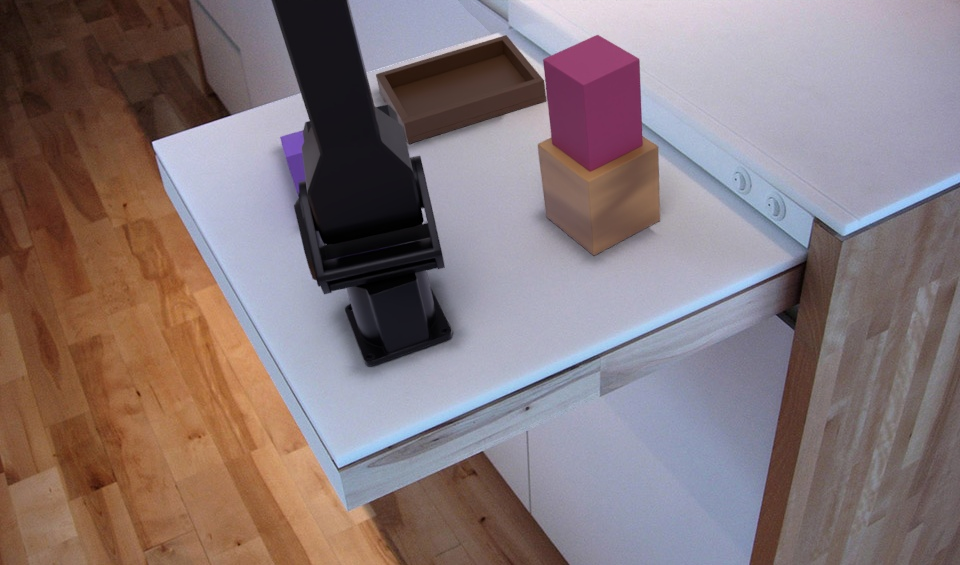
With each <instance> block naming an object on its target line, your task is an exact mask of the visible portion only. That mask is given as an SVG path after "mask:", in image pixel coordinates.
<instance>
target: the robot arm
mask: <svg viewBox="0 0 960 565" xmlns="http://www.w3.org/2000/svg"><path fill="white" fill-rule="evenodd" d="M271 3H272V8H273V10H274V14H275V16H276V19H277V23H278V26H279V29H280V32H281V35H282V38H283V42H284V43H285V48H286V51H287V54H288V57H289V60H290V63H291V67H292V69H293V70H292V71H293V73H294V76H295V79H296V82H297V86H298V88H299V92H300V95H301V98H302V101H303V104H304V107H305V110H306V113H307V117H308V121H305V123H304V126H303V129H302V130H303V139H304V143H303V145H302V156H303V164H304V171H305V179H306V180H304V181H300V182H299V192H298V194H297V197H298V196H299V197H298V198H297V199H296V201H295V203H294V204H293V208H294V213H295V217H296V222H297V226H298V230H299V234H300V239H301V243H302V247H303V251H304V252H303V253H304V255H305V256H304V257H305V260H306V263H307V266H308V269H309V272H310V275H311V279H312V280H315V281H316V284H317V287H318V288H319V287H320V289H321V291H322V293H323V295H327V294H332V292H335V291H339V290H344V289H346V293H347V296H348V299H349V304H347V305H346V306H345V308H344V311H345V314H346V317H347V320H348V322H349V325H350V328H351V331H352V333H353V336H354V338H355V341H356V344H357V346H358V349H359V351H360V354H361V357H362V359H363V362H364V364H365V365H366V366H369V367H372V366H375V365H378V364H382V363H384V362H387V361H391V360H392V359H396V358H398V357H402V356H404V355H406V354H407V355H408V354H410V353H412V352H413V353H414V352H416V351H419V350H421V349H424V348H427V347H429V346H433V345H435V344H438V343H441V342H444V341H447V340H449V339H451V338H452V336H453V330H452V328H451V325H450V324H449V322H448V319H447V317H446V315H445V313H444V311H443V309H442V307H441V305H440V303H439V300H438V299H437V296H436V295H435V293H434V291H433V288H432V287H431V284H430V280H429V276H428V271H431V270H436V269H437V270H442V269H445V268H446V266H445V261H444V255H443V251H442V250H443V249H442V246H441V242H440V237H439V233H438V228H437V222H436V220H435V214H434V211H433V204H432V202H431V201H432V200H431V196H430V192H429V187H428V183H427V178H426V174H425V169H424V165H423V160H422V157H421V155H416V156H410V151H409V146H408V142H407V140H406V137H405V132H404V128H403V126H402V125H401V124H399V121H398V117H397V113H396V112H395V111H394V110H393V109H392V108H391V107H390V106H389V105H386V104H384V105H380V106H375V102H374V100H373V99H374V98H373V94H372V91H371V86H370V82H369V78H368V73H367V69H366V66H365V61H364V58H363V53H362V49H361V46H360V41H359V37H358V34H357V30H356V24H355V21H354V16H353V13H352V8H351V5H350V0H271ZM422 209H423V210H424V213H425V218H426V223H424V222H425V219H424V214H423V210H422Z"/></svg>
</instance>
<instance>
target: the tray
mask: <svg viewBox="0 0 960 565" xmlns="http://www.w3.org/2000/svg"><path fill="white" fill-rule="evenodd" d="M375 77H376V82H377V86H378V90H379V94H380V96H381V98H382V99H383V101H384V103H385V105H389V106H390V107H391V108H392V109H393V110H394V111H395V112H396V113H397V117H398V121H399V124H401V125H402V126H403V128H404V132H405V137H406V141H407V145H408V144H409V145H410V144H413V143H416V142H419V141H422V140H425V139H429V138H431V137H435V136H438V135H441V134H444V133H447V132H451V131H454V130H457V129H460V128H463V127H467V126H470V125H473V124H477V123H479V122H484V121H486V120H490V119H492V118H496V117H499V116H501V115H502V116H503V115H505V114H509V113H511V112H515V111H518V110H522V109H525V108H528V107H531V106H534V105H537V104H541V103H543V102H547V92H546V83H545V79H544V78H543V77H542V76H541V75H540V74H539V73H538V71H537V70H536V69H535V68H534V66H533V65H532V63H531V62H530V61H529V60H528V59H527V57H526V56H525V55H524V54H523V53H522V51H521V50H520V49H519V48H518V47H517V46H516V45H515V43H514V42H513V41H512V40H511V39H510V38H509V36H508V35H505V34H504V35H501V36H498V37H495V38H491V39H489V40H488V39H487V40H485V41H481V42H478V43H474V44H472V45H468V46H465V47H461V48H457V49H455V50H452V51H448V52H445V53H441V54H439V55H435V56H432V57H428V58H425V59H421V60H418V61H416V62H412V63H409V64H405V65H401V66H399V67H394V68H392V69H391V68H390V69H388V70H385V71H381V72H379V73H378V72H377V73H376V74H375Z"/></svg>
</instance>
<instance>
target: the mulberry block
mask: <svg viewBox="0 0 960 565" xmlns="http://www.w3.org/2000/svg"><path fill="white" fill-rule="evenodd" d="M640 61H641V60H640V58H639V57H638V56H635V55H634V54H632V53H631V52H629V51H627V50H625V49H624V48H621V46H618V45H616V44H615V43H613V42H611V41H609V40H607V39H606V38H604V37H602V36H601V35H599V34H596V35H594V36H591V37H589V38H587V39H584V40H583V41H580V42H578V43H576V44H573V45H571V46H569V47H566V48H565V49H563V50H560V51H558V52H556V53H554V54H551V55H549V56H547V57H545V58H543V59H542V62H543V72H544V83H545V93H546V102H547V108H548V118H549V129H550V136H551V137H550V138H552V144H553V145H554V146H556V147H557V148H559V149H560V150H561V151H563V152H564V153H565V154H567V155H568V156H569V157H571V158H572V159H574V160H575V161H576V162H578V163H579V164H580V165H582V166H583V167H584V168H586V169H587V170H589V171H593V170H595V169H597V168H599V167H601V166H603V165H605V164H607V163H609V162H611V161H613V160H615V159H617V158H619V157H621V156H623V155H624V154H626V153H628V152H630V151H632V150H634V149H636V148H638V147H640V146H642V145H643V139H642V136H643V118H642V90H641V89H642V88H641V87H642V86H641V64H640Z"/></svg>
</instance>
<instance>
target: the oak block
mask: <svg viewBox="0 0 960 565" xmlns="http://www.w3.org/2000/svg"><path fill="white" fill-rule="evenodd" d="M642 139H643V145H642V146H640V147H638V148H636V149H634V150H632V151H630V152H628V153H626V154H624V155H623V156H621V157H619V158H617V159H615V160H613V161H611V162H609V163H607V164H605V165H603V166H601V167H599V168H597V169H595V170H593V171H589V170H587V169H586V168H584V167H583V166H582V165H580V164H579V163H578V162H576V161H575V160H574V159H572V158H571V157H569V156H568V155H567V154H565V153H564V152H563V151H561V150H560V149H559V148H557V147H556V146H554V145H553V144H552V138H551V137H549V138H546V139H545V140H543V141H540V142H539V143H537V151H538V160H539V169H540V177H541V185H542V193H543V202H544V203H543V204H544V211H545V217H546V218H547V219H548V220H550V221H551V222H552V223H553V224H555V225H556V226H557V227H558V228H560V229H561V230H562V231H563V232H565V233H566V234H567V235H568V236H569V237H570V238H571V239H572V240H573V241H575V242H576V243H578V244H579V245H580V246H581V247H582V248H583V249H585V250H586V251H587V252H589V253H590V254H591V255H592V256H597V255H599V254H600V253H602V252H604V251H606V250H608V249H609V248H611V247H613V246H615V245H617V244H620V243H621V242H623V241H625V240H627V239H628V238H630V237H632V236H634V235H636V234H638V233H640V232H642V231H643V230H646V229H647V228H649V227H651V226H653V225H654V224H657V223H658V222H660V221H661V209H660V208H661V202H660V201H661V200H660V197H661V196H660V168H659V167H660V164H659V162H660V160H659V159H660V157H659V146H658V144H656V143H654V142H653V141H651V140H650V139H648V138H647V137H646V136H644V135H642Z"/></svg>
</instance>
